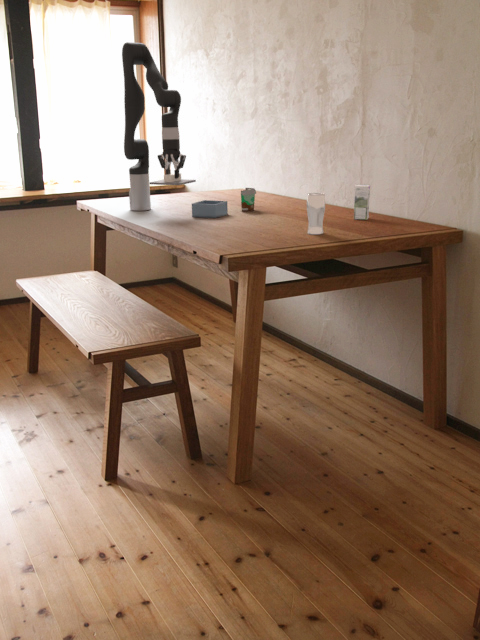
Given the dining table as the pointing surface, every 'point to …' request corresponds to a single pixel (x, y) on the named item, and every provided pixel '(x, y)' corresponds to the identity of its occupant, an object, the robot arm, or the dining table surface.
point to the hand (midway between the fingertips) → (172, 178)
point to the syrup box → (361, 202)
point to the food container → (248, 199)
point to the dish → (209, 209)
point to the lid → (172, 180)
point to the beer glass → (315, 212)
